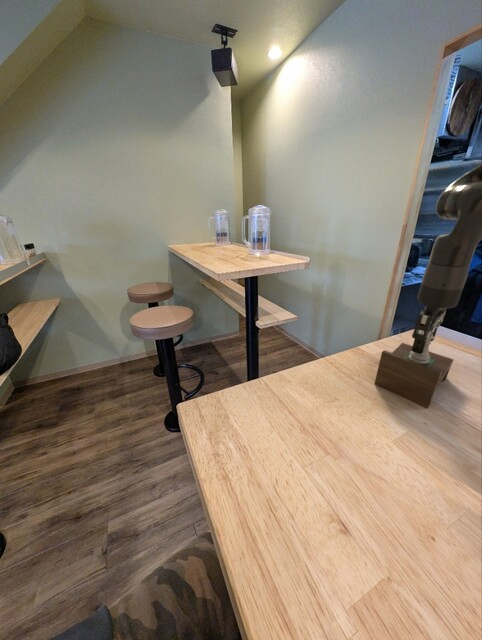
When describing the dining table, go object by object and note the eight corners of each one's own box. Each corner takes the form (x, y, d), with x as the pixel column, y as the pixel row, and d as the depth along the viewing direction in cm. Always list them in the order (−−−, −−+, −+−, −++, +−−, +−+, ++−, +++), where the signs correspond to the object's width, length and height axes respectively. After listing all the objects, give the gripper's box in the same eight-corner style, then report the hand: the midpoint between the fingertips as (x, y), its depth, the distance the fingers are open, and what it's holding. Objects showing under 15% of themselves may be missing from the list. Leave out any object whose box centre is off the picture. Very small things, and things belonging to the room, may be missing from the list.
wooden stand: (397, 359, 75) (405, 330, 71) (446, 378, 67) (458, 346, 63) (374, 384, 66) (381, 351, 62) (427, 408, 58) (440, 373, 54)
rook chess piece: (416, 353, 67) (425, 327, 64) (433, 362, 63) (442, 334, 60) (404, 357, 66) (411, 330, 63) (419, 366, 62) (428, 338, 59)
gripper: (455, 295, 49) (431, 363, 56) (470, 279, 57) (448, 341, 64) (411, 287, 54) (395, 350, 61) (432, 274, 63) (415, 331, 70)
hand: (422, 345), depth 63 cm, fingers open, 8 cm apart
